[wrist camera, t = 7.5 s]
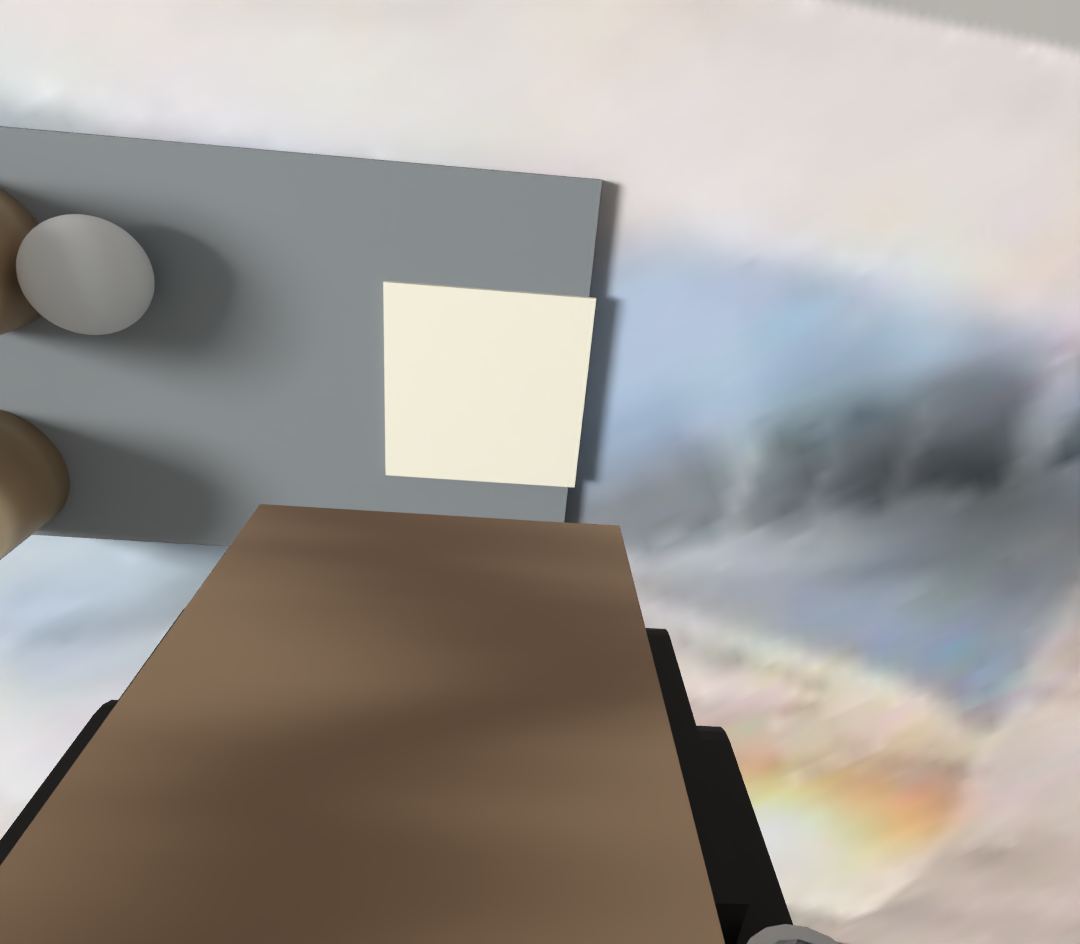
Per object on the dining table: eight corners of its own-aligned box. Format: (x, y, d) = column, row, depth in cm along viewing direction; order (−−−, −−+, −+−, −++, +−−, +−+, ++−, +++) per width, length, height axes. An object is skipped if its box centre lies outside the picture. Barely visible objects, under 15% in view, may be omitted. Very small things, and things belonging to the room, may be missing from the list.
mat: (606, 180, 21) (609, 181, 20) (563, 557, 26) (565, 569, 25) (-190, 109, 19) (-218, 108, 19) (-59, 520, 25) (-76, 531, 24)
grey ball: (166, 213, 20) (106, 226, 17) (181, 324, 22) (128, 353, 19) (51, 204, 20) (-29, 215, 17) (73, 316, 21) (3, 343, 18)
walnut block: (619, 525, 10) (789, 1199, 4) (581, 778, 12) (647, 1480, 6) (260, 503, 10) (-234, 1193, 3) (285, 766, 12) (14, 1489, 5)
